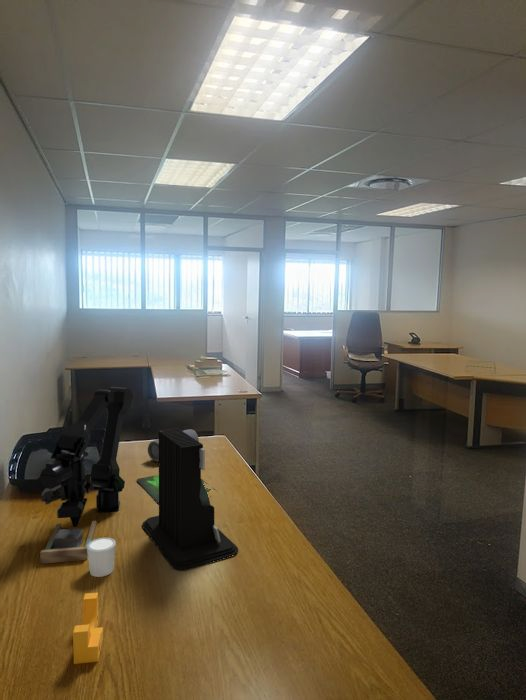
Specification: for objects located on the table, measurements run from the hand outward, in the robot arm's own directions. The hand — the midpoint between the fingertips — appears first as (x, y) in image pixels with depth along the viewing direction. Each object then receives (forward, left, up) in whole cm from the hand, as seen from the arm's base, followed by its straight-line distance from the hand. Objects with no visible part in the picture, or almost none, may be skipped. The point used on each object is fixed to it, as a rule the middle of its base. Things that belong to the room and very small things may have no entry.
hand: (75, 526), depth 141 cm
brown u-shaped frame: (0, +7, -1) cm, 7 cm away
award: (-32, +9, -2) cm, 33 cm away
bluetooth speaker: (-30, -63, -2) cm, 69 cm away
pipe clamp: (-11, +48, -2) cm, 49 cm away
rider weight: (0, +9, -2) cm, 9 cm away
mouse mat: (-30, -29, -2) cm, 41 cm away
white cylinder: (-10, +22, -2) cm, 24 cm away
